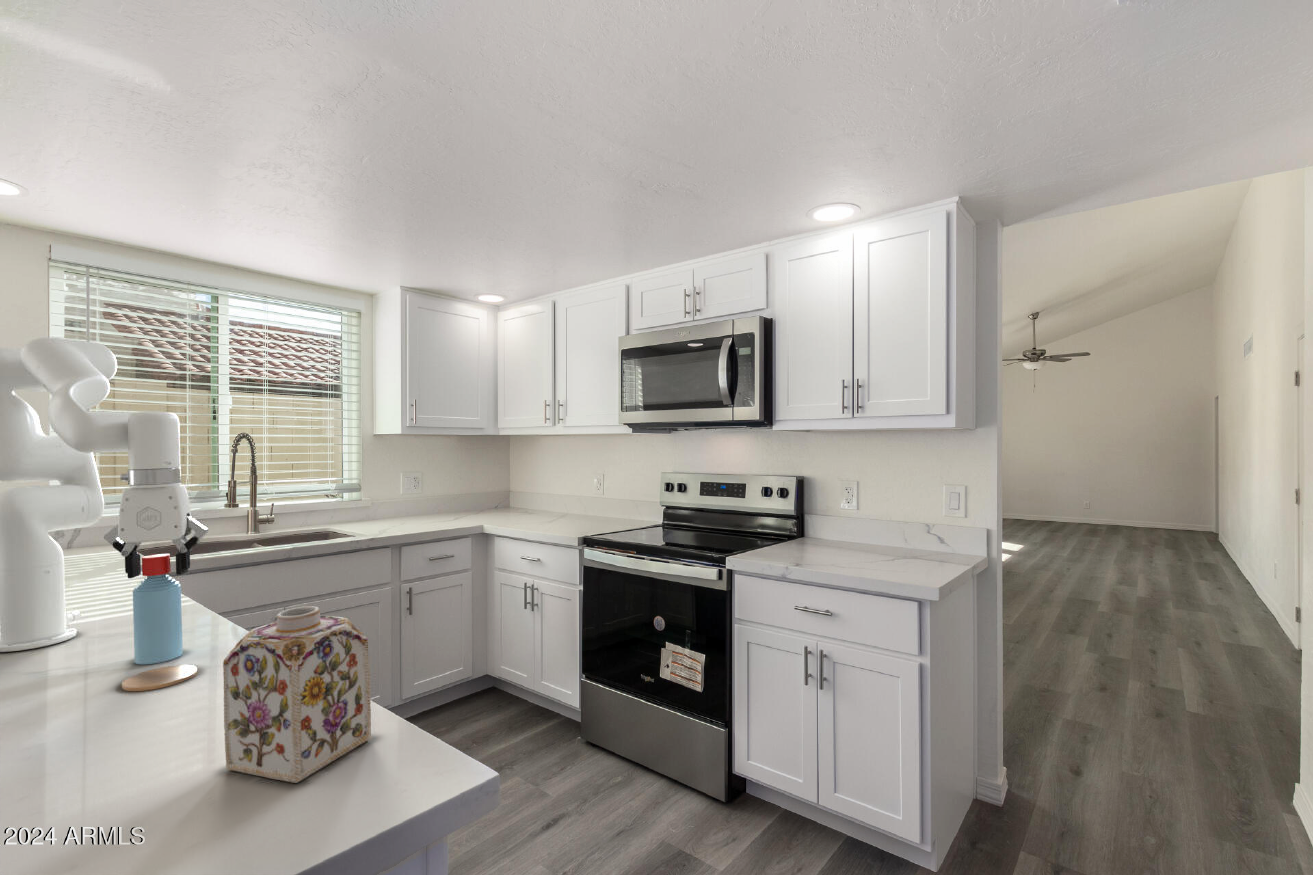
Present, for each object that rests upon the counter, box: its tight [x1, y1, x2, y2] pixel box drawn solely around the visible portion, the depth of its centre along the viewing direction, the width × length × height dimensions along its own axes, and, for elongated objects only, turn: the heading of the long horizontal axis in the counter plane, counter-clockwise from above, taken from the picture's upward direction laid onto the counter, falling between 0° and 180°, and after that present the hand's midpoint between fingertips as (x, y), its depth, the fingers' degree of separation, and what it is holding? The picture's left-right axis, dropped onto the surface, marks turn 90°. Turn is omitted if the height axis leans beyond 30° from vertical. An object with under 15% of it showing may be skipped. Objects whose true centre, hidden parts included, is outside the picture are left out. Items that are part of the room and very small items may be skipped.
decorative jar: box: [222, 605, 372, 784], centre depth 79 cm, size 12×12×18 cm
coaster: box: [121, 664, 198, 692], centre depth 107 cm, size 10×10×1 cm
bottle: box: [132, 574, 184, 665], centre depth 118 cm, size 7×7×18 cm
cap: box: [141, 553, 172, 577], centre depth 118 cm, size 4×4×3 cm
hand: (158, 574), depth 118 cm, fingers open, 6 cm apart
